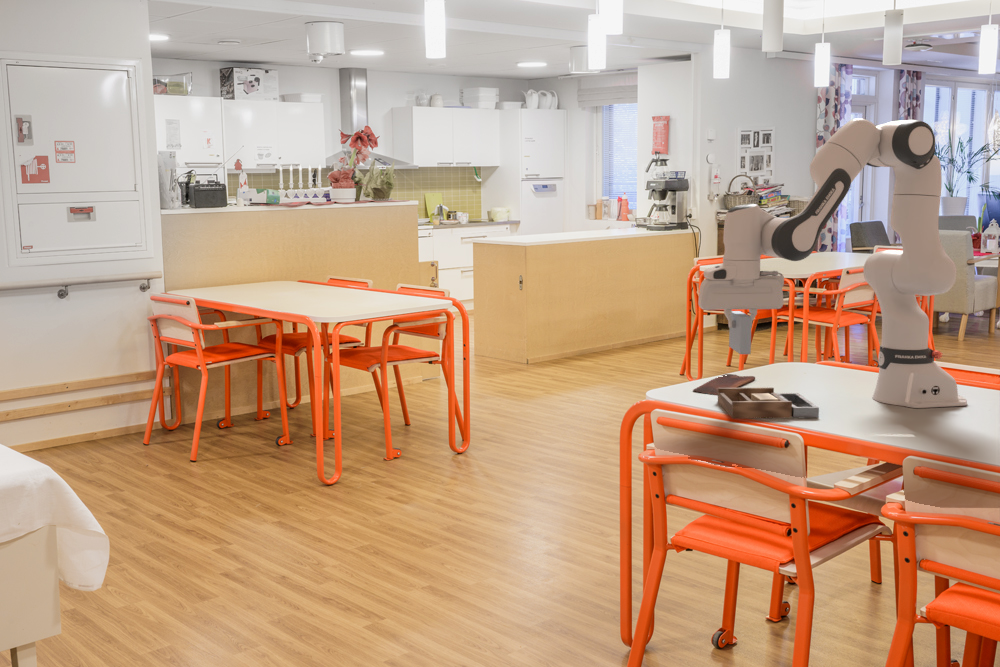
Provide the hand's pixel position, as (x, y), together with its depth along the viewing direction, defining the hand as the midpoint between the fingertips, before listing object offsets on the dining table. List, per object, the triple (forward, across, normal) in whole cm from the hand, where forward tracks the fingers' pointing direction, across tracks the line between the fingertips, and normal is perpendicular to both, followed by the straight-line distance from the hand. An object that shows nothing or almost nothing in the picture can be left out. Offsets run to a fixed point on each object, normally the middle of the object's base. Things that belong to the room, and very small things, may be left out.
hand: (740, 327), depth 231 cm
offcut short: (+20, -7, 0) cm, 21 cm away
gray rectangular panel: (+6, 0, 0) cm, 6 cm away
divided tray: (+21, -2, 0) cm, 21 cm away
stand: (+21, -14, 0) cm, 25 cm away
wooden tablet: (+20, -7, -26) cm, 34 cm away
